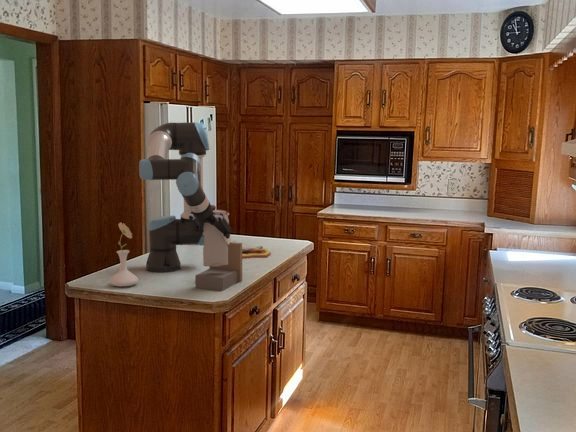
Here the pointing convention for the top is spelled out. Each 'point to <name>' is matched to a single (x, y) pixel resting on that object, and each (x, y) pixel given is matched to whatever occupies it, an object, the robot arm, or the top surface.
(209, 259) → the pale grey bottle shape
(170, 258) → the robot arm
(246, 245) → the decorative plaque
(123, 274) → the flower in vase
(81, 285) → the top surface
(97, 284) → the top surface
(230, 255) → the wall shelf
